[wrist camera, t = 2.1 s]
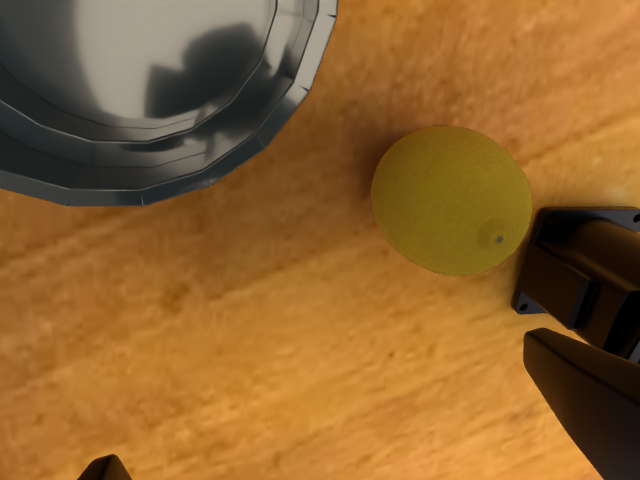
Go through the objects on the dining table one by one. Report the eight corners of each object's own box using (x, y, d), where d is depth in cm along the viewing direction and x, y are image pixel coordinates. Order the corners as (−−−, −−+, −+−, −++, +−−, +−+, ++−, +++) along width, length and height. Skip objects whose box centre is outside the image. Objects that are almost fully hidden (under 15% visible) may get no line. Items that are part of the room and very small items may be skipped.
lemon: (381, 93, 19) (474, 123, 12) (480, 137, 21) (613, 188, 13) (332, 205, 21) (387, 292, 13) (427, 237, 22) (520, 329, 15)
